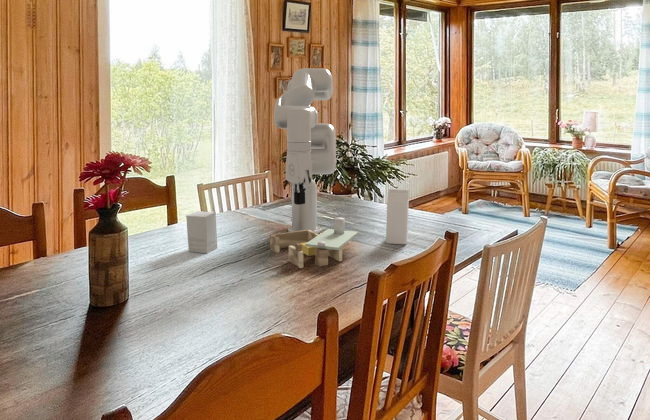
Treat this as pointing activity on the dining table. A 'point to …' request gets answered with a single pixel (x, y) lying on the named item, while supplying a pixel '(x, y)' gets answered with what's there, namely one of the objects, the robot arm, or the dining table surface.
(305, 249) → the yellow rectangular block
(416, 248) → the dining table surface
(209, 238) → the supplement box
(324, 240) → the cover
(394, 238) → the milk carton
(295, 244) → the beige notched ring
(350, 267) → the dining table surface
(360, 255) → the dining table surface
